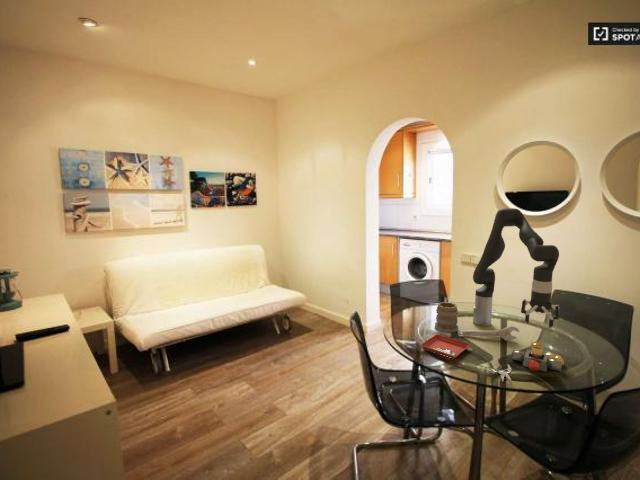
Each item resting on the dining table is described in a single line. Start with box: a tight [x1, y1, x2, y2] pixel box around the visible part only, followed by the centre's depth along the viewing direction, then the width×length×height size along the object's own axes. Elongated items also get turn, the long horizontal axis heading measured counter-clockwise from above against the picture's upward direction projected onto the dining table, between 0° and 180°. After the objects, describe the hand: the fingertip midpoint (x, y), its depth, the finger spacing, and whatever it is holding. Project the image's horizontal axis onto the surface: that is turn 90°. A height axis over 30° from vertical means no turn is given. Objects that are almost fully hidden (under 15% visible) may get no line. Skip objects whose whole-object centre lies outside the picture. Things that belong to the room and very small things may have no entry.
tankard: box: [434, 296, 459, 334], centre depth 205 cm, size 20×13×15 cm, turn 161°
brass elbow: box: [543, 352, 565, 367], centre depth 161 cm, size 7×4×6 cm
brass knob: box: [530, 341, 544, 360], centre depth 159 cm, size 5×5×8 cm
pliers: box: [485, 362, 512, 383], centre depth 153 cm, size 10×2×15 cm
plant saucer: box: [420, 333, 471, 359], centre depth 176 cm, size 18×18×3 cm
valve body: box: [511, 349, 563, 373], centre depth 158 cm, size 19×13×5 cm
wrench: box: [457, 325, 520, 342], centre depth 187 cm, size 8×2×30 cm
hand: (538, 324), depth 157 cm, fingers open, 8 cm apart
